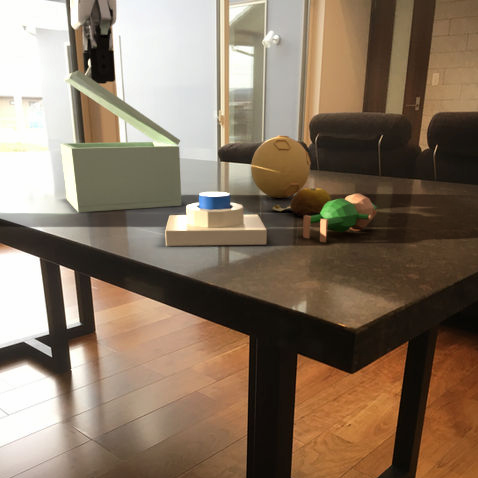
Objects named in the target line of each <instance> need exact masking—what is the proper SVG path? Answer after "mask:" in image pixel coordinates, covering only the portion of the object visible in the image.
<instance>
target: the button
mask: <svg viewBox="0 0 478 478" xmlns="http://www.w3.org/2000/svg"><path fill="white" fill-rule="evenodd" d="M198 203H199V208H201V209H210V210H219V209H229V208H230V203H231V193H230V192H226V191H225V192H224V191H205V192H200V193H199V194H198Z"/></svg>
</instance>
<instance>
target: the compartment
mask: <svg viewBox="0 0 478 478" xmlns="http://www.w3.org/2000/svg"><path fill="white" fill-rule="evenodd" d="M60 153H61V161H62V170H63V177H64V186H65V195H66V200H67V201H68V202H69V203H70V205H71V206H72V207H73V208H74V209H75V210H76V212H77V213H90V212H91V213H93V212H105V211H107V212H108V211H120V210H133V209H135V210H136V209H151V208H163V207H165V208H166V207H178V206H180V207H181V206H182V184H181V183H182V181H181V180H182V179H181V158H180V157H181V156H180V155H181V154H180V146H179V145H175V144H169V143H164V142H158V141H125V142H124V141H123V142H118V141H117V142H70V143H69V142H68V143H65V142H64V143H63V142H62V143H61V142H60Z"/></svg>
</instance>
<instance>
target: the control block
mask: <svg viewBox="0 0 478 478" xmlns="http://www.w3.org/2000/svg"><path fill="white" fill-rule="evenodd" d="M244 208H245V207H244V206H243V204H241V203H236V202H230V208H229V209H219V210H210V209H201V208H199V202H194V203H191V204H187V205H186V207H185V209H186V210H185V213H186V214H169V216H168V220H167V223H166V227H165V231H164V233H165V246H166V247H186V246H187V247H189V246H190V247H193V246H195V247H197V246H199V247H200V246H201V247H202V246H259V245H261V246H263V245H264V246H266V245H267V239H268V238H267V234H268V233H267V232H268V231H267V228H266V226H265V225H264V223H263V221H262V220H261V218H260V216H259V214H257V213H256V214H244Z"/></svg>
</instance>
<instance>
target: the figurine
mask: <svg viewBox="0 0 478 478" xmlns="http://www.w3.org/2000/svg"><path fill="white" fill-rule="evenodd" d="M377 209H378V206H376V205H375V204H374V203H373V202H372V201H371V199H370V198H369V197H368V196H365V195H363V194H361V193H353V194H350V195H346V197H345V198H337V199H333V200H331V201H329V202H327V203H326V204H325V205H324V207H323V209H322V210H321V212H320V213H317V214H314V215H312V216H307V215H305V216H304V217H303V224H302V225H303V227H302V228H303V229H302V230H303V231H302V234H303V235H302V237H303V239H310V235H311V234H310V233H311V225H312V224H317V223H320V224H319V225H320V227H319V230H320V231H319V242H320V243H325V244H326V243H327V236H328V231H331V232H337V233H344V232H345V233H346V232H347V231H348V230H351V231H354V232H359V231H362V230H363V229H364V228H366V227H367V226H368V225H369V223H370V222H371V221H372V220H373V219H374V217H375V216H376V214H378V213H377V212H378V211H377Z"/></svg>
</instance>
